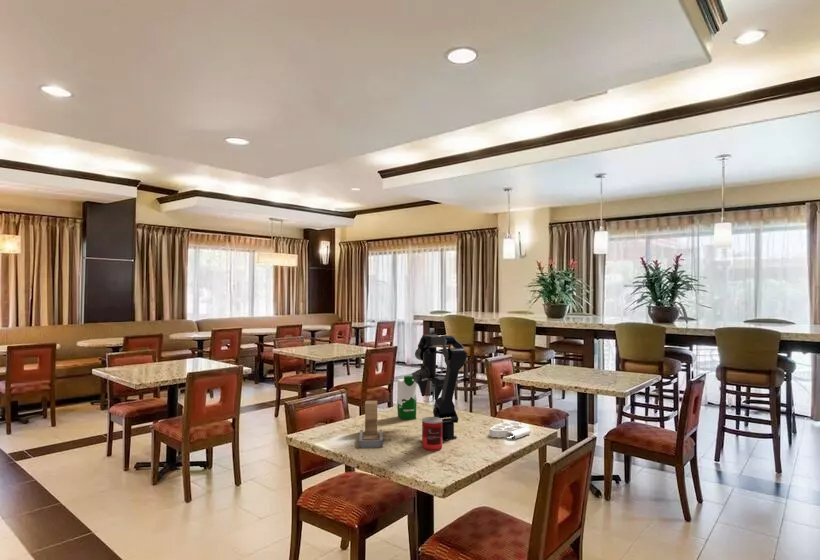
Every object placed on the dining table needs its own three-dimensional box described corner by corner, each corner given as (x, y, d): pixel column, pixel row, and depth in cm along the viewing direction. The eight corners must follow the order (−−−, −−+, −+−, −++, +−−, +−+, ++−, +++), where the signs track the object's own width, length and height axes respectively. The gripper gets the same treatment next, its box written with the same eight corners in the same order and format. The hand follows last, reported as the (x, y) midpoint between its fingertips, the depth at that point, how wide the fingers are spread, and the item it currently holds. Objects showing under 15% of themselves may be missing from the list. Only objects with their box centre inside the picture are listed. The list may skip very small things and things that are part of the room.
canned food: (431, 443, 191) (431, 415, 192) (446, 448, 186) (446, 419, 186) (417, 447, 186) (417, 419, 186) (433, 452, 180) (433, 422, 181)
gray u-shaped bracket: (382, 447, 187) (382, 440, 187) (359, 447, 186) (359, 441, 186) (381, 435, 202) (381, 429, 202) (360, 436, 201) (360, 430, 201)
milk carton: (400, 420, 226) (400, 377, 227) (395, 416, 235) (395, 374, 235) (418, 419, 229) (418, 376, 229) (412, 414, 237) (412, 373, 238)
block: (376, 434, 204) (377, 403, 204) (364, 434, 204) (365, 403, 204) (377, 431, 209) (377, 400, 209) (365, 431, 209) (365, 400, 209)
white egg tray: (510, 443, 193) (481, 435, 204) (535, 434, 206) (506, 427, 216) (510, 434, 194) (481, 427, 204) (534, 426, 206) (506, 420, 217)
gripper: (402, 361, 218) (402, 396, 217) (428, 366, 203) (428, 404, 202) (422, 359, 225) (422, 393, 224) (448, 364, 210) (448, 400, 209)
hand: (429, 398), depth 215 cm, fingers open, 9 cm apart
